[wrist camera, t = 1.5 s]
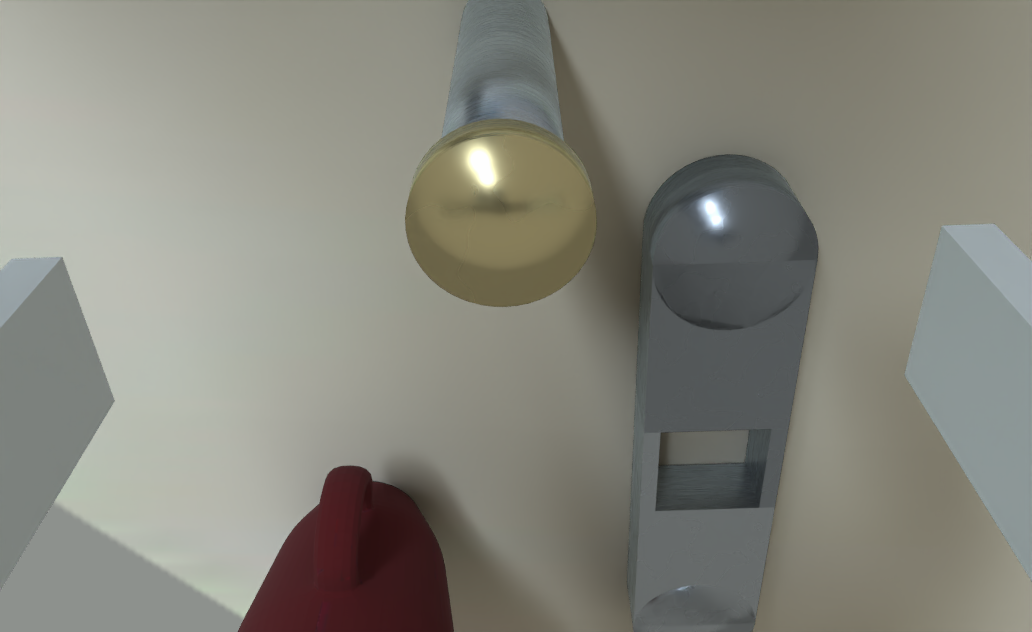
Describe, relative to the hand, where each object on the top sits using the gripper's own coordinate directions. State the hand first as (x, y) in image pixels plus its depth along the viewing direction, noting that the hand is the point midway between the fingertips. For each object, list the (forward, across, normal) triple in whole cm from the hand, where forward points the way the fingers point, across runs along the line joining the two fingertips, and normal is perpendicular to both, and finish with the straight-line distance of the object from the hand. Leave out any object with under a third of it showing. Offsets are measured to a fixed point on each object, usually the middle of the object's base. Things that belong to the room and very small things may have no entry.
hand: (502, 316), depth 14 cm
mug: (+16, -7, -19) cm, 25 cm away
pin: (+15, 0, 0) cm, 15 cm away
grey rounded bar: (+16, +7, -16) cm, 23 cm away
